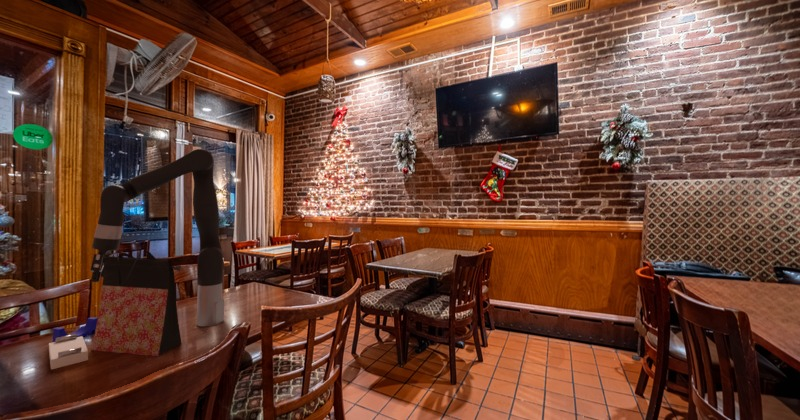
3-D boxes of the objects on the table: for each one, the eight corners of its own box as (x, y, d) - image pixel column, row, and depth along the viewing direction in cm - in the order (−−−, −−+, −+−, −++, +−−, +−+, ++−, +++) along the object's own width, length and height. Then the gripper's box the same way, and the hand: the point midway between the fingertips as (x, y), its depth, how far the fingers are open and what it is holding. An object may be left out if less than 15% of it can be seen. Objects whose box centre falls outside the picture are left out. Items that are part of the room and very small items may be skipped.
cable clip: (88, 331, 123) (89, 316, 123) (97, 332, 122) (98, 317, 122) (49, 344, 111) (49, 328, 111) (59, 346, 111) (59, 329, 111)
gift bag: (81, 354, 105) (83, 251, 105) (123, 336, 119) (125, 246, 119) (160, 361, 102) (162, 254, 101) (193, 342, 116) (195, 249, 116)
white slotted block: (82, 344, 112) (82, 332, 112) (87, 360, 101) (88, 346, 101) (48, 351, 106) (49, 338, 106) (50, 369, 95) (51, 355, 95)
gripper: (115, 239, 114) (106, 283, 113) (125, 236, 126) (117, 275, 125) (87, 237, 110) (77, 283, 109) (101, 233, 123) (92, 274, 122)
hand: (99, 279), depth 117 cm, fingers open, 8 cm apart
